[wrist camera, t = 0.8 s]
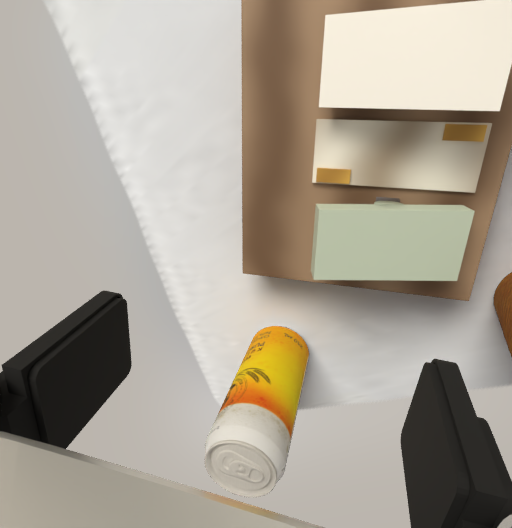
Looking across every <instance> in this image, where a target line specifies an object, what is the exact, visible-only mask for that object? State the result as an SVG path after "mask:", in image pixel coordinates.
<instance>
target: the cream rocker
mask: <svg viewBox="0 0 512 528" xmlns="http://www.w3.org/2000/svg"><path fill="white" fill-rule="evenodd" d="M511 65H512V0H480V1H469V2H459V3H448V4H437V5H427V6H416V7H406V8H395V9H384V10H374V11H363V12H353V13H342V14H331V15H325V28H324V42H323V56H322V69H321V83H320V97H319V107H330V108H375V109H420V110H466V111H500V108H501V104H502V100H503V96H504V92H505V88H506V84H507V80H508V76H509V73H510V69H511Z"/></svg>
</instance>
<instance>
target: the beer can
mask: <svg viewBox="0 0 512 528" xmlns="http://www.w3.org/2000/svg"><path fill="white" fill-rule="evenodd" d="M308 358H309V351H308V347H307V345H306V343H305V341H304V340H303V339H302V337H301V336H300V335H298V334H297V333H296V332H294V331H293V330H291V329H289V328H286V327H281V326H271V327H266V328H264V329H262V330H260V331H259V332H258V333H257V334H256V335H255V336H254V338H253V340H252V342H251V344H250V346H249V348H248V351H247V353H246V355H245V357H244V359H243V361H242V364H241V366H240V368H239V370H238V372H237V374H236V377H235V379H234V381H233V383H232V385H231V387H230V390H229V392H228V394H227V396H226V398H225V400H224V403H223V405H222V407H221V409H220V411H219V413H218V415H217V418H216V420H215V422H214V424H213V426H212V428H211V431H210V433H209V435H208V437H207V440H206V443H205V453H206V455H205V467H206V469H207V472H208V474H209V475H210V477H211V478H212V479H213V480H214V481H215V482H216V483H217V484H218V485H219V486H221V487H222V488H224V489H225V490H227V491H229V492H231V493H233V494H236V495H239V496H244V497H260V496H264V495H266V494H268V493H269V492H271V491H272V490H273V488H274V487H275V484H276V483H277V482H278V481H279V480H280V478H281V477H282V475H283V474H284V471H285V466H286V462H287V457H288V452H289V448H290V443H291V438H292V434H293V428H294V424H295V419H296V415H297V410H298V405H299V401H300V396H301V391H302V387H303V382H304V377H305V373H306V368H307V363H308Z"/></svg>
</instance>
